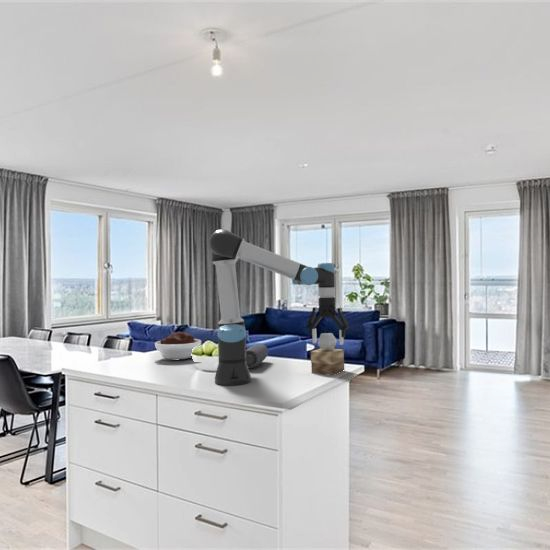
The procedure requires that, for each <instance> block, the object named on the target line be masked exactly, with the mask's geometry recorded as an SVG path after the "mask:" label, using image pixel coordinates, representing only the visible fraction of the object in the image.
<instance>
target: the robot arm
mask: <svg viewBox="0 0 550 550" xmlns="http://www.w3.org/2000/svg"><path fill="white" fill-rule="evenodd" d="M208 244H209V245H208V246H209V248H210V254H211V262H212V264H213V265H215V269H216V279H217V290H218V299H219V301H218V302H219V309H220V311H219V312H220V320H219V321H218V322H217V323H218V330H217V344H218V345H217V346H218V347H217V349H218V364H217V368H216V372H215V376H214V383H215V384H216V385H222V386H240V385H245V384H248V383H250V382H252V375H251V373H250V370H249V368H248V366H247V363H246V350H247V330H246V326H245V319H244V318H243V317H241V311H240V300H239V292H238V281H237V270H236V263H237V262H238V261H239V260H242V261H244V262H247V263H250V264H253V265H255V266H258V267H261V268H262V269H265V270H267V271H270V272H273V273H275V274H278V275H281V276H283V277H286V278H288V279H291V283H292V284H293V285H299V286H301V285H306V286H312V285H317V286H318V290H317V291H318V307H317V306H316V307H315V306H314V307H312V312H311V314H310V317H309V319H308V321H307V324H306V328H309V329H310V336H312V339H311V340H312V344H316V343H317V344H318V341H317V328H316V327H317V325H318V324H319V322H320V321H321V320H322V319H323V318H331V319H332V320H333V321H334V323H336V325H337V326H338V328H339V330H338V331H339V333H338V335H339V345H340V346H342V345H344V343H345V342H344V341H345V340H344V339H345V338H346V330H347V329H350V325H349V323H348V322H347V319H346V316H345V315H344V312H343V307H337V308H336V298H335V296H336V283H335V282H336V281H335V280H336V277H335V275H336V272H335V265H334V263H333V262H321V263H320V262H319V263H318V264H317V267H312V266H308V265H305V264H302V263H300V262H298V261H295V260H293V259H290V258H287V257H285V256H282V255H280V254H277V253H275V252H272V251H270V250H267V249H265V248H262V247H260V246H257V245H254V244H252V243H250V242H247V241H245V238H243V237H242V236H239V235H237V234H235V233H233V232H231V231H229V230H228V229H222V228H221V229H217V230H215V231H214V232H213V233H212V234H211V235H210V237H209V240H208ZM318 312H319V314H318V315H317V313H318ZM336 313H337V314H338V316H339V317H338V316H337V314H336ZM316 316H317V317H316Z"/></svg>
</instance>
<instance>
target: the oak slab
mask: <svg viewBox="0 0 550 550" xmlns="http://www.w3.org/2000/svg"><path fill="white" fill-rule="evenodd" d="M344 354H345V353H344V349H340V348H339V349H338V348H334V351H322V350H321V348H318V349H314V350H311V351H310V363H321V364H332V365H333V364H336V363H339V362H341V361H344V362H345V358H344V357H345V355H344Z"/></svg>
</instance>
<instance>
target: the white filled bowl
mask: <svg viewBox="0 0 550 550" xmlns="http://www.w3.org/2000/svg"><path fill="white" fill-rule="evenodd" d="M154 346H155V348H156V350H157V351H158V352H159V353H160V356H161V357H162V358H163V359H165V360H171V359H184V360H186V359H189V358H192V357H191V353H192V349H193V348H194V347H196V346H200V347H201V346H202V340H201V339H197V338H195V337H194V336H193V335H192V334H190V333H189V332H183V331H177V332H176V331H175V332H171V334H170V335H169V336H166V338H162V339H160V340H158V341H156V342H154Z"/></svg>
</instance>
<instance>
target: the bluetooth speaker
mask: <svg viewBox="0 0 550 550" xmlns="http://www.w3.org/2000/svg"><path fill="white" fill-rule="evenodd" d="M268 353H269V349H268V347H267V346H266V345H265V344H263V343H255V344H253V345H252V346H250V347H248V348H246V363H247V366H248V369H249V368H251V369H255V368H258V367H259V366H260V365H261V363H262V362H264V360H265V359H266V358H267V357H268Z"/></svg>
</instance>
